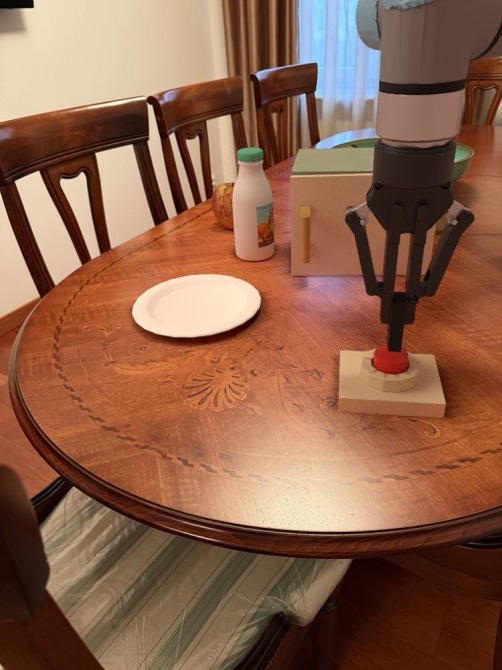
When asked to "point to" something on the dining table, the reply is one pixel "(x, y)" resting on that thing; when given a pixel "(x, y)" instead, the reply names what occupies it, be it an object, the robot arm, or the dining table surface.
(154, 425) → the dining table surface
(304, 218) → the door
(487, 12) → the robot arm
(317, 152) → the cupboard
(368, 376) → the button base
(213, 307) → the plate
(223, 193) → the apple
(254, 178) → the milk bottle
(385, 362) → the button
